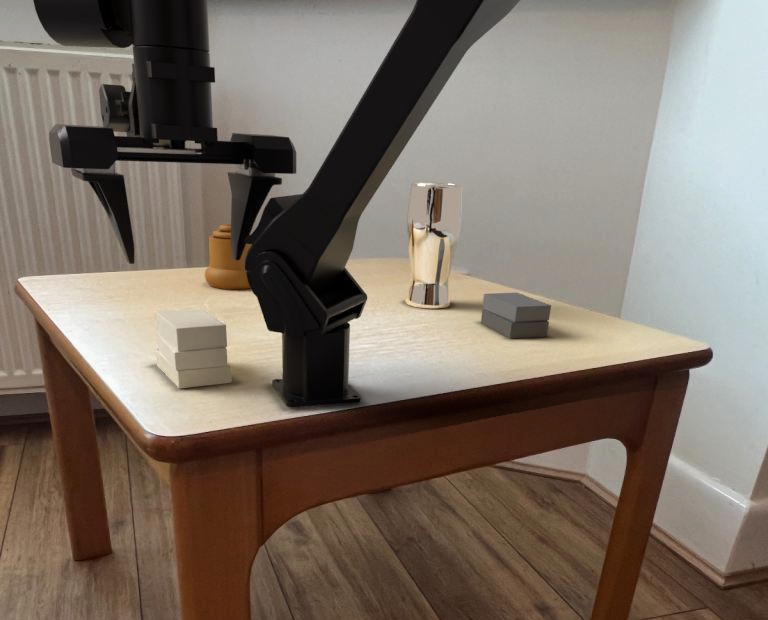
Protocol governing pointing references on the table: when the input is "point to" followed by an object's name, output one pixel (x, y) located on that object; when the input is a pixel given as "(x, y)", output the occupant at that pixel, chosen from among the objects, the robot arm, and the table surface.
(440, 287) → the beer glass
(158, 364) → the white books
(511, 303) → the grey books
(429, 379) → the table surface
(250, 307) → the table surface
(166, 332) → the off-white rectangular block
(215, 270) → the ornamental finial
